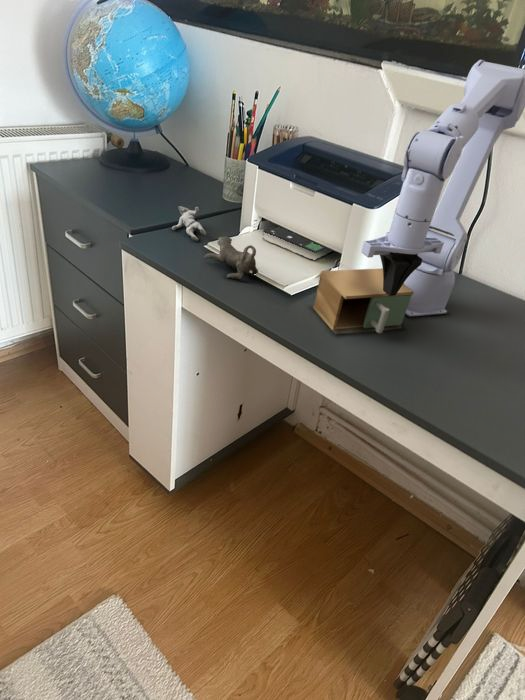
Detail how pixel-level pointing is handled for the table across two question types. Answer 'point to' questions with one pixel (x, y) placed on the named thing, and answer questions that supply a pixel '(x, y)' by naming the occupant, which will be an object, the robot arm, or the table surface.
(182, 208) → the soldier figure
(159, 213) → the table surface
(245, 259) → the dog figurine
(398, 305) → the closet door
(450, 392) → the table surface
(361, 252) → the robot arm
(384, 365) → the table surface
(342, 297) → the closet
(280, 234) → the disk drive
